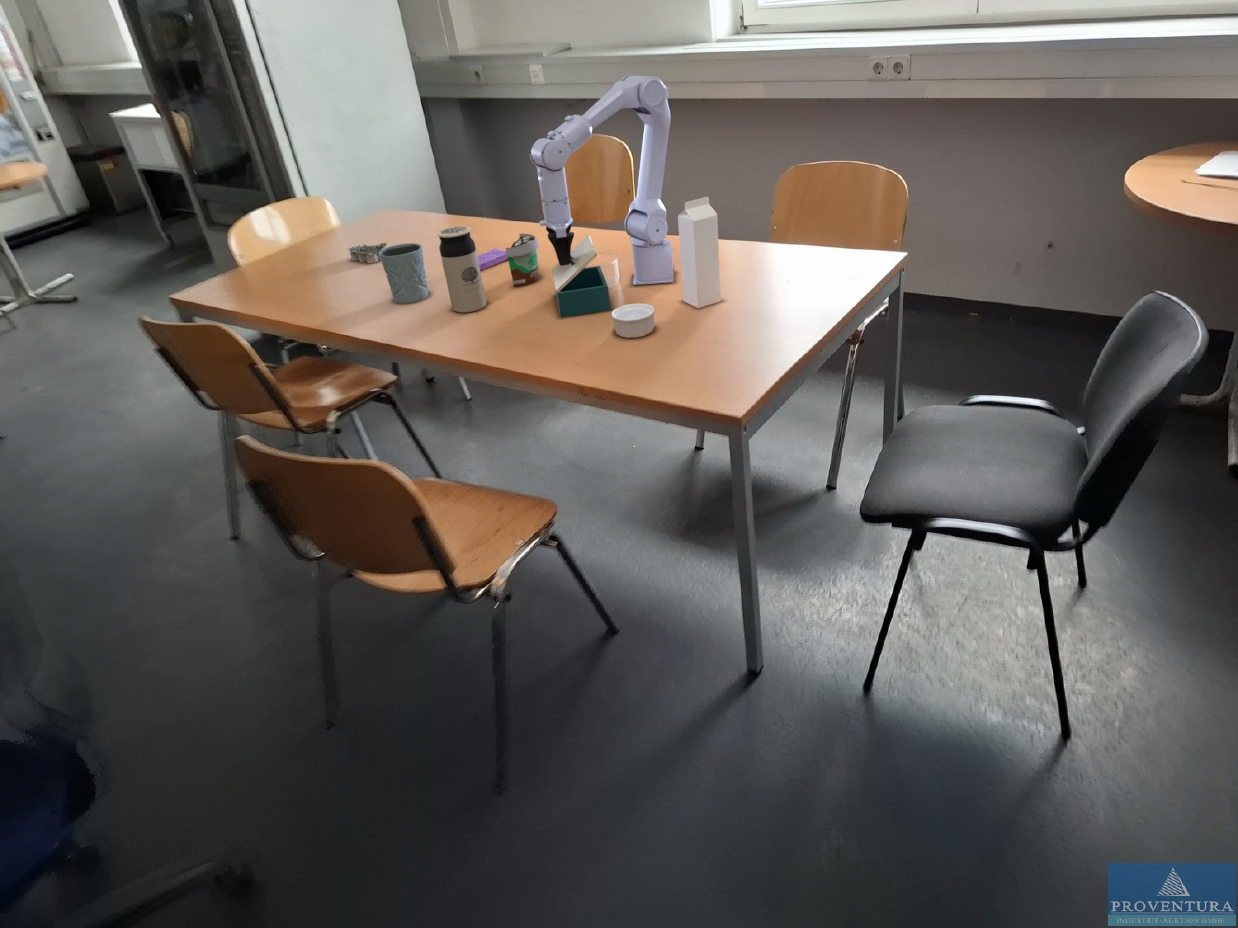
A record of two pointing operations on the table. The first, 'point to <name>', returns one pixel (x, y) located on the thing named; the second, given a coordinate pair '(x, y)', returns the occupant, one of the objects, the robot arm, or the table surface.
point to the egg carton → (366, 253)
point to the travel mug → (461, 269)
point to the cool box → (584, 294)
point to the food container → (523, 260)
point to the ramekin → (633, 320)
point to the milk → (699, 253)
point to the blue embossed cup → (405, 272)
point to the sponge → (491, 258)
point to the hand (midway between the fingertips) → (563, 261)
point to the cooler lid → (574, 263)
